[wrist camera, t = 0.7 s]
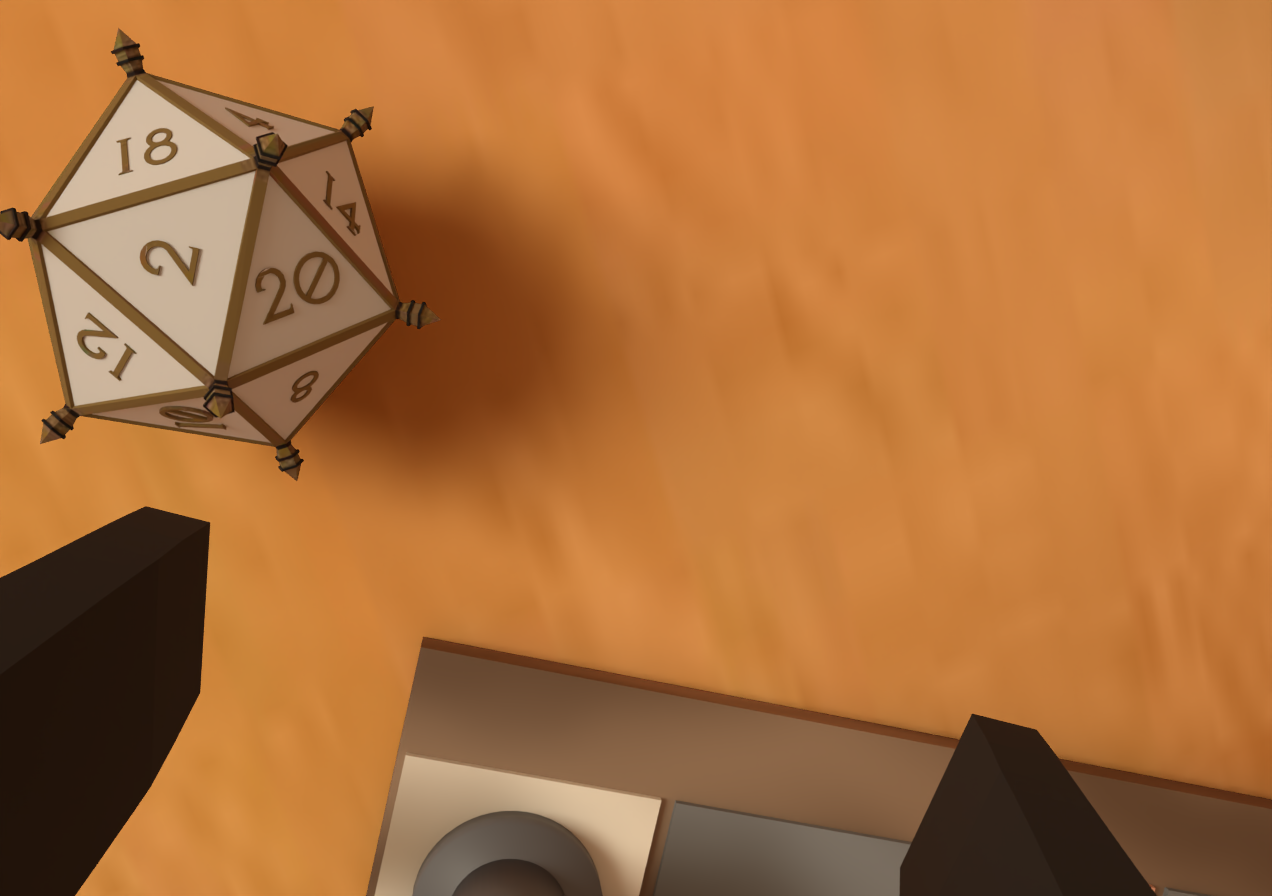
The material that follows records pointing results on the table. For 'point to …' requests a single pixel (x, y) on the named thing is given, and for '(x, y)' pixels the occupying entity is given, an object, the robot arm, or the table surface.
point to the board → (735, 787)
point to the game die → (208, 265)
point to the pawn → (508, 860)
